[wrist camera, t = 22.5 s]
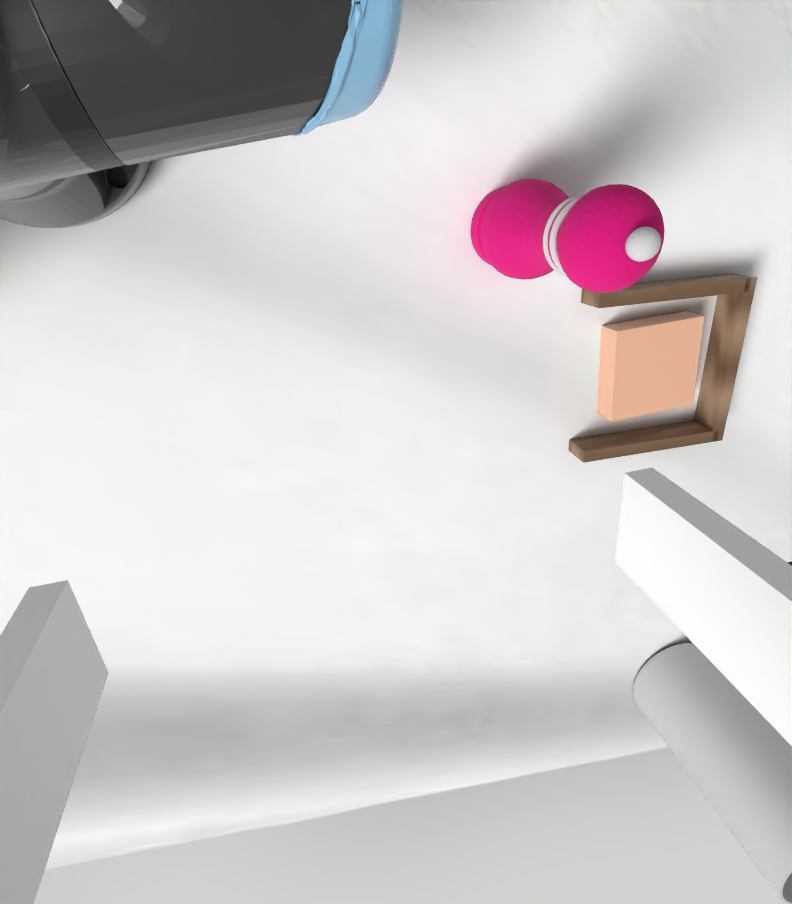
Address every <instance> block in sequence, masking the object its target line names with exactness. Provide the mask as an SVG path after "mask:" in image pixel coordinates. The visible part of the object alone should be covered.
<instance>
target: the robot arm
mask: <svg viewBox="0 0 792 904" xmlns="http://www.w3.org/2000/svg"><path fill="white" fill-rule="evenodd" d="M402 5H403V0H0V218H1V219H4V220H7V221H11V222H14V223H18V224H22V225H27V226H32V227H41V228H62V227H71V226H78V225H83V224H87V223H91V222H94V221H97V220H99V219H101V218H104V217H106V216H108V215H109V214H111V213H113V212H114V211H116V210H117V209H119V208H120V207H121V206H122V205H123V204H125V203H126V202H127V201H128V200H129V199H130V198H131V196H132V195H133V194H134V193H135V192H136V190H137V189H138V187H139V186H140V184H141V182H142V180H143V179H144V177H145V174H146V172H147V170H148V167H149V164H150V161H153V160H159V159H164V158H169V157H175V156H180V155H185V154H191V153H196V152H201V151H207V150H212V149H217V148H223V147H228V146H234V145H239V144H244V143H250V142H255V141H260V140H266V139H271V138H276V137H282V136H287V135H292V136H299V135H300V134H307V133H308V132H310V131H312V130H313V129H315V128H316V127H318V126H321V125H325V124H329V123H332V122H336V121H339V120H343V119H346V118H350V117H353V116H356V115H358V114H360V113H361V112H363V111H364V110H366V109H367V108H368V107H369V106H370V105H371V104H372V103H373V102H374V100H375V99H376V98H377V96H378V95H379V94H380V92H381V90H382V88H383V86H384V84H385V82H386V80H387V78H388V75H389V72H390V69H391V66H392V63H393V59H394V54H395V50H396V46H397V40H398V35H399V29H400V22H401V14H402ZM615 562H616V563H617V564H618V565H619V566H620V567H621V569H622V570H623V571H624V572H625V573H626V574H627V575H628V576H629V577H630V578H631V579H632V580H633V581H634V582H635V583H636V584H637V585H638V586H639V587H640V588H641V589H642V590H643V591H644V593H645V594H646V595H647V596H648V597H649V598H650V599H651V600H652V601H653V602H654V603H655V604H656V605H657V606H658V607H659V608H660V609H661V610H662V611H663V612H664V613H665V614H666V616H667V617H668V618H669V619H670V620H671V621H672V622H673V623H674V624H675V625H676V626H677V627H678V628H679V629H680V630H681V631H682V632H683V633H684V634H685V635H686V636H687V637H688V638H689V640H690V641H691V642H692V643H693V644H694V645H695V646H696V647H697V648H698V649H699V650H700V651H701V652H702V653H703V654H704V655H705V656H706V657H707V658H708V659H709V660H710V661H711V662H712V664H713V665H714V666H715V667H716V668H717V669H718V670H719V671H720V672H721V673H722V674H723V675H724V676H725V677H726V678H727V679H728V680H729V681H730V682H731V683H732V684H733V685H734V686H735V688H736V689H737V690H738V691H739V692H740V693H741V694H742V695H743V696H744V697H745V698H746V699H747V700H748V701H749V702H750V703H751V704H752V705H753V706H754V707H755V708H756V709H757V710H758V712H759V713H760V714H761V715H762V716H763V717H764V718H765V719H766V720H767V721H768V722H769V723H770V724H771V725H772V726H773V727H774V728H775V729H776V730H777V731H778V732H779V733H780V734H781V736H782V737H783V738H784V739H785V740H786V741H787V742H788V743H789V744H790V745H791V746H792V562H788V563H787V562H786V561H784V560H783V559H781V558H780V557H779V556H777V555H776V554H774V553H773V552H771V551H770V550H769V549H767V548H766V547H764V546H763V545H761V544H760V543H759V542H757V541H756V540H754V539H753V538H751V537H750V536H749V535H747V534H746V533H744V532H743V531H741V530H740V529H739V528H737V527H736V526H734V525H733V524H732V523H730V522H729V521H727V520H726V519H724V518H723V517H722V516H720V515H719V514H717V513H716V512H714V511H713V510H712V509H710V508H709V507H707V506H706V505H704V504H703V503H702V502H700V501H699V500H697V499H696V498H695V497H693V496H692V495H690V494H689V493H687V492H686V491H685V490H683V489H682V488H680V487H679V486H677V485H676V484H675V483H673V482H672V481H670V480H669V479H667V478H666V477H665V476H663V475H662V474H660V473H659V472H657V471H656V470H655V469H653V468H648V469H643V470H638V471H632V472H627V473H625V474H624V483H623V492H622V501H621V510H620V519H619V528H618V537H617V546H616V555H615ZM107 675H108V671H107V669H106V666H105V664H104V662H103V660H102V657H101V655H100V653H99V650H98V648H97V646H96V644H95V641H94V639H93V637H92V635H91V632H90V630H89V628H88V625H87V623H86V621H85V619H84V616H83V614H82V612H81V609H80V607H79V605H78V603H77V600H76V598H75V596H74V594H73V591H72V589H71V587H70V584H69V582H68V580H67V581H61V582H56V583H51V584H46V585H41V586H35V587H30V588H29V589H28V590H27V592H26V594H25V595H24V597H23V599H22V601H21V602H20V604H19V606H18V607H17V609H16V611H15V612H14V614H13V616H12V617H11V619H10V621H9V622H8V624H7V626H6V627H5V629H4V631H3V632H2V634H1V636H0V904H33V903H34V900H35V897H36V894H37V891H38V888H39V885H40V882H41V878H42V876H43V872H44V869H45V866H46V863H47V860H48V857H49V854H50V851H51V848H52V845H53V842H54V839H55V835H56V832H57V829H58V826H59V823H60V820H61V817H62V814H63V811H64V808H65V805H66V802H67V798H68V795H69V792H70V789H71V786H72V783H73V780H74V777H75V774H76V771H77V768H78V765H79V761H80V758H81V755H82V752H83V749H84V746H85V743H86V740H87V737H88V734H89V731H90V728H91V724H92V721H93V718H94V715H95V712H96V709H97V706H98V703H99V700H100V697H101V694H102V691H103V687H104V684H105V681H106V678H107Z"/></svg>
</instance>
